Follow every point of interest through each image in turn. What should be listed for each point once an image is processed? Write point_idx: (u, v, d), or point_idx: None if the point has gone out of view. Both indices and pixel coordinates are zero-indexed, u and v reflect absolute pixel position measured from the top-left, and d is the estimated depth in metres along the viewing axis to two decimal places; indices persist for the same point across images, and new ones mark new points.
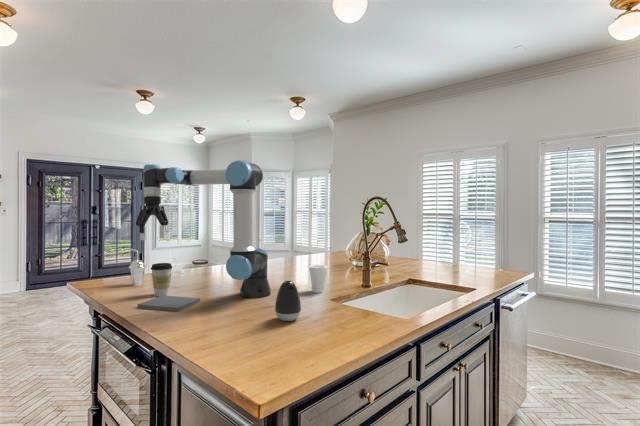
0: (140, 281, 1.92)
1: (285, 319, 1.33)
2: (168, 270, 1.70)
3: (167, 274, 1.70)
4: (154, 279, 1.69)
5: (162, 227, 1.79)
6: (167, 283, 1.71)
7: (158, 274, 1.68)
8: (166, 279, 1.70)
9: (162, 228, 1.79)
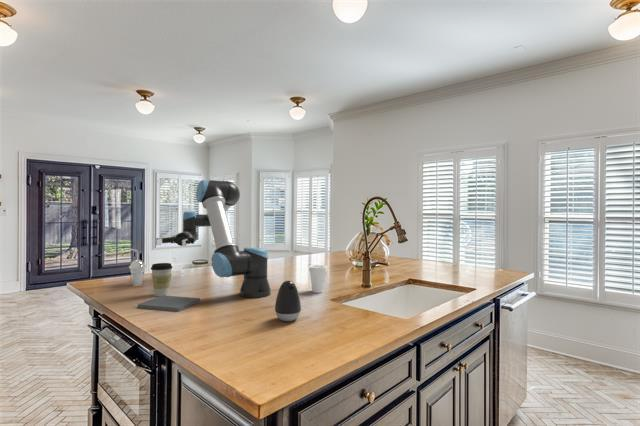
0: (140, 281, 1.92)
1: (285, 319, 1.33)
2: (168, 270, 1.70)
3: (167, 274, 1.70)
4: (154, 279, 1.69)
5: None
6: (167, 283, 1.71)
7: (158, 274, 1.68)
8: (166, 279, 1.70)
9: None
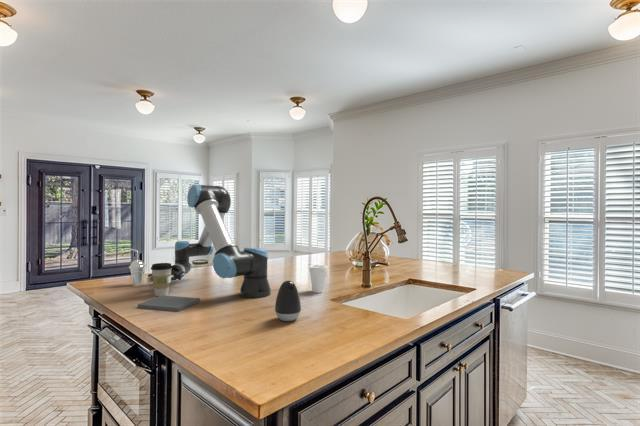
0: (140, 281, 1.92)
1: (285, 319, 1.33)
2: (168, 270, 1.70)
3: (167, 274, 1.70)
4: (154, 279, 1.69)
5: None
6: (167, 283, 1.71)
7: (158, 274, 1.68)
8: (166, 279, 1.70)
9: None
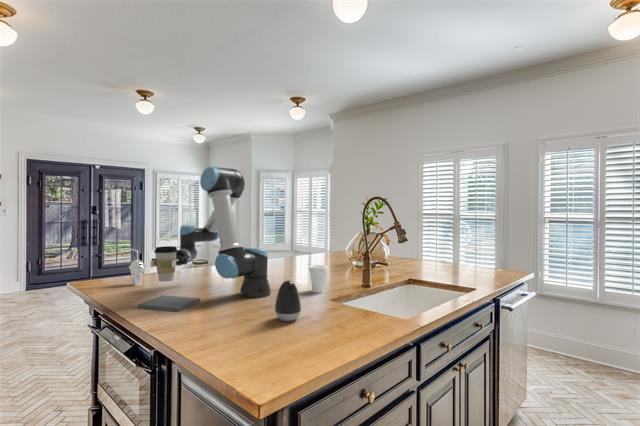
0: (140, 281, 1.92)
1: (285, 319, 1.33)
2: (173, 253, 1.58)
3: (172, 258, 1.57)
4: (158, 263, 1.56)
5: None
6: (172, 267, 1.58)
7: (162, 258, 1.55)
8: (171, 263, 1.57)
9: None
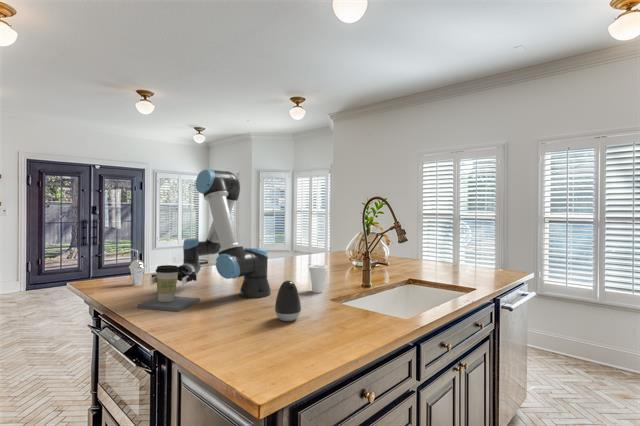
0: (140, 281, 1.92)
1: (285, 319, 1.33)
2: (174, 273, 1.55)
3: (173, 278, 1.54)
4: (158, 283, 1.53)
5: None
6: (172, 288, 1.55)
7: (163, 278, 1.52)
8: (172, 284, 1.54)
9: None
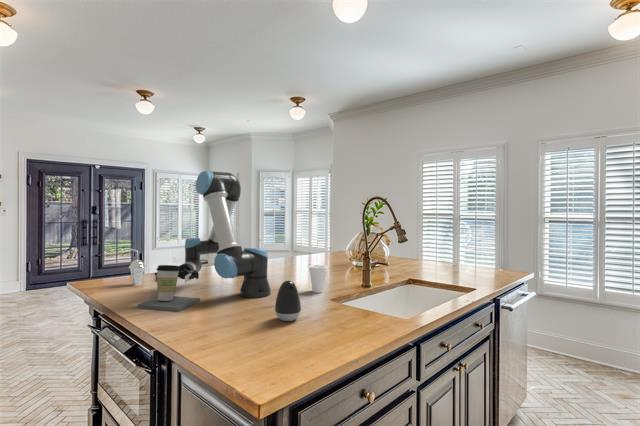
0: (140, 281, 1.92)
1: (285, 319, 1.33)
2: (175, 272, 1.56)
3: (173, 276, 1.55)
4: (159, 281, 1.54)
5: None
6: (172, 287, 1.55)
7: (164, 276, 1.53)
8: (172, 282, 1.55)
9: None
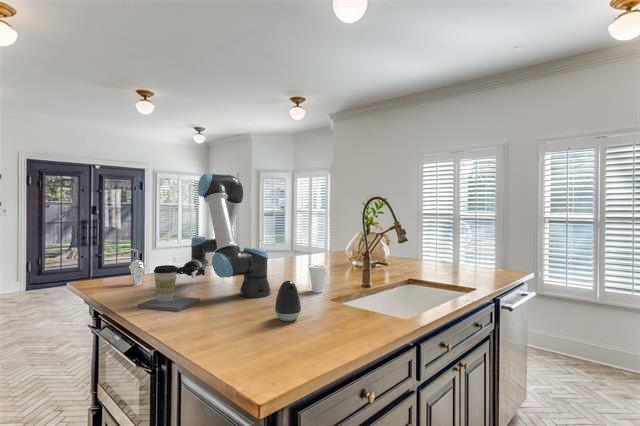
0: (140, 281, 1.92)
1: (285, 319, 1.33)
2: (172, 274, 1.54)
3: (171, 278, 1.54)
4: (156, 283, 1.53)
5: None
6: (171, 288, 1.54)
7: (161, 278, 1.52)
8: (170, 284, 1.54)
9: None
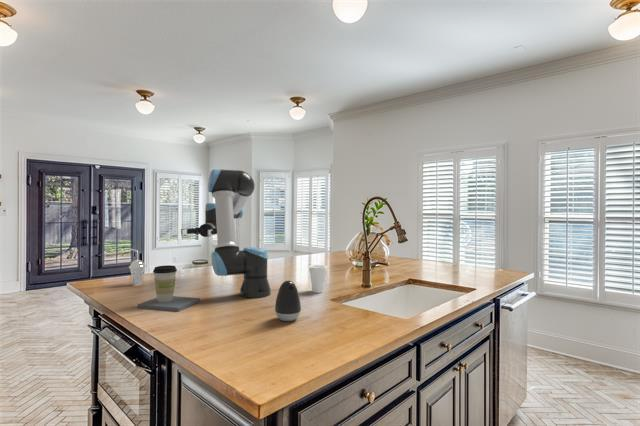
0: (140, 281, 1.92)
1: (285, 319, 1.33)
2: (171, 274, 1.54)
3: (170, 278, 1.54)
4: (156, 283, 1.53)
5: None
6: (170, 288, 1.54)
7: (160, 278, 1.52)
8: (169, 284, 1.54)
9: None
